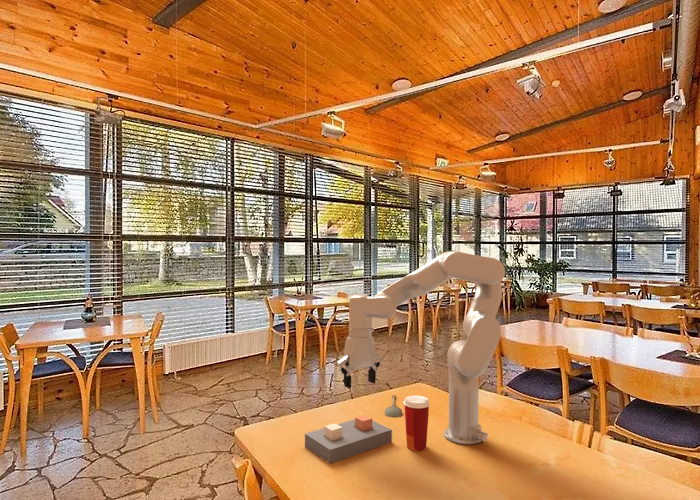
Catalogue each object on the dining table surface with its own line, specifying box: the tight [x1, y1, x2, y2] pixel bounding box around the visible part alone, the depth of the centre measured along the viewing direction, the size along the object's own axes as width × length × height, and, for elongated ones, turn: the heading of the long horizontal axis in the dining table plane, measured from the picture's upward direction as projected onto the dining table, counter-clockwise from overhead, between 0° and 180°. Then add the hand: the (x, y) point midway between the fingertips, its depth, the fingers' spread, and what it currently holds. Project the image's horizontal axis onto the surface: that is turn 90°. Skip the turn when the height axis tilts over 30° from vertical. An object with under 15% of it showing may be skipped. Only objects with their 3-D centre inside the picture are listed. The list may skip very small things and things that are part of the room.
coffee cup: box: [402, 395, 431, 452], centre depth 138 cm, size 8×8×15 cm
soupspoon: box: [384, 394, 403, 418], centre depth 173 cm, size 22×3×7 cm
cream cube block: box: [323, 423, 342, 441], centre depth 136 cm, size 4×4×4 cm
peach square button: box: [354, 414, 373, 431], centre depth 143 cm, size 4×4×4 cm
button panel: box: [304, 418, 393, 464], centre depth 139 cm, size 14×24×4 cm, turn 127°
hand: (359, 384), depth 144 cm, fingers open, 9 cm apart
